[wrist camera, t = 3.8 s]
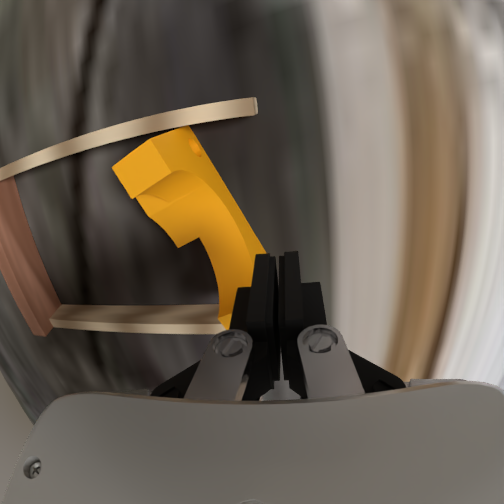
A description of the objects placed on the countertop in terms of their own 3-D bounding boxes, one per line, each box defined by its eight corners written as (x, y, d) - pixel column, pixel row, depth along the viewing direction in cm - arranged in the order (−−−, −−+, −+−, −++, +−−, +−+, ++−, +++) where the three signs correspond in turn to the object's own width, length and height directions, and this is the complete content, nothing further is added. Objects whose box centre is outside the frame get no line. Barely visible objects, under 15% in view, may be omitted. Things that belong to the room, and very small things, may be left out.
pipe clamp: (139, 158, 20) (89, 185, 14) (189, 124, 19) (149, 138, 13) (227, 290, 24) (211, 348, 19) (276, 269, 23) (273, 327, 18)
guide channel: (256, 97, 17) (249, 97, 14) (280, 311, 25) (279, 346, 21) (-1, 169, 21) (-30, 183, 17) (53, 311, 28) (33, 334, 25)
